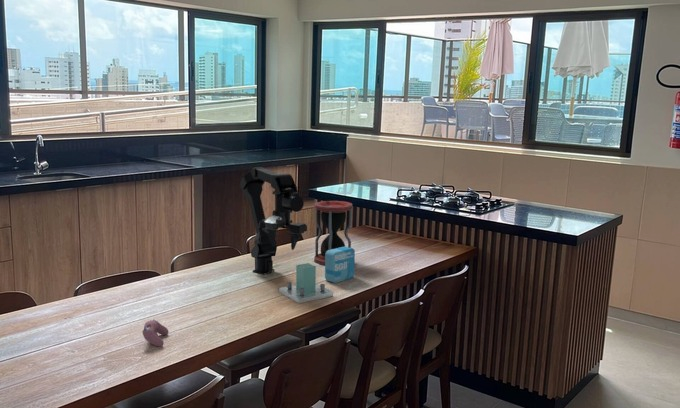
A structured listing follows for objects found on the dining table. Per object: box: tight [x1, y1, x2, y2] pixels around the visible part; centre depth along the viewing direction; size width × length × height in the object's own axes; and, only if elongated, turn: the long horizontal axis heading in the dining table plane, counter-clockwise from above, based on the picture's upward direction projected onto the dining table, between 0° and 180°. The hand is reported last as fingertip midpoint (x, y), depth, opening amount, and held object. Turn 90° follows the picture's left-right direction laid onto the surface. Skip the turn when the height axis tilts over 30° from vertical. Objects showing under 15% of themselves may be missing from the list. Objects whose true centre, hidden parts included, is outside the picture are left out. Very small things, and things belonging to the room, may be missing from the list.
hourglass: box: [313, 200, 353, 266], centre depth 259 cm, size 16×16×25 cm
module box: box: [295, 262, 317, 293], centre depth 217 cm, size 5×5×9 cm
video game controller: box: [141, 319, 170, 347], centre depth 175 cm, size 10×5×7 cm, turn 6°
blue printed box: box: [324, 245, 356, 284], centre depth 235 cm, size 12×4×12 cm, turn 136°
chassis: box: [278, 281, 334, 304], centre depth 217 cm, size 14×14×4 cm
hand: (282, 247), depth 230 cm, fingers open, 9 cm apart
